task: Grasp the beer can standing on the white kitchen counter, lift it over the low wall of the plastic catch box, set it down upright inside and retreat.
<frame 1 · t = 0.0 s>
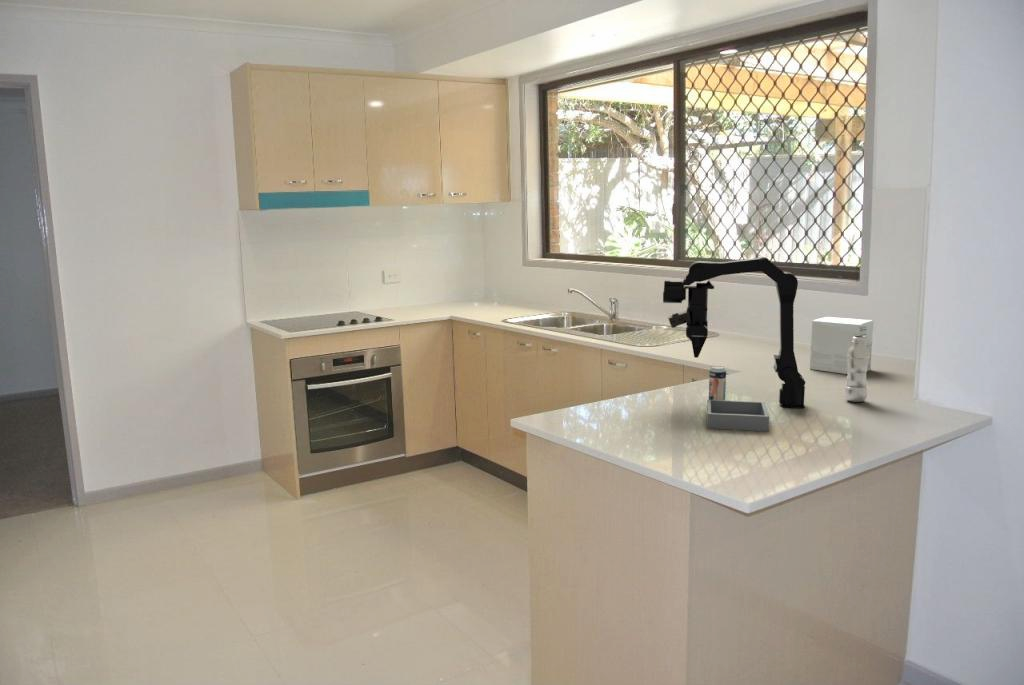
hand: (696, 354, 245), 15 cm above the counter, fingers open, 9 cm apart
supplement box: (839, 370, 290), on the counter
catch box: (736, 421, 225), on the counter
plastic bottle: (855, 402, 245), on the counter
beer can: (716, 407, 242), on the counter
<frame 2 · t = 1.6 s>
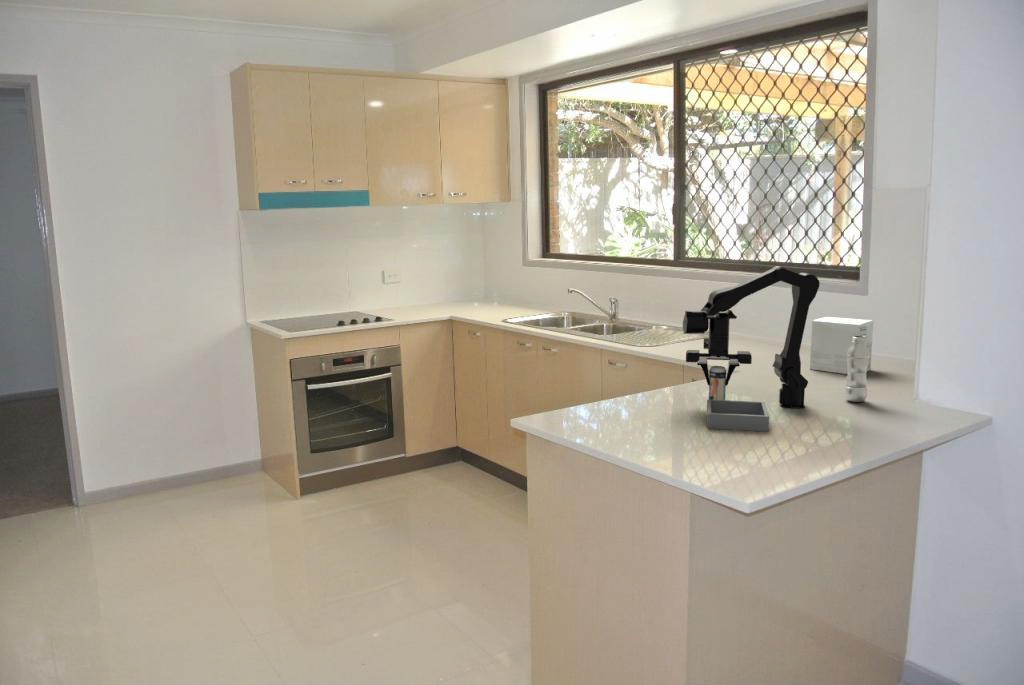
hand: (717, 385, 241), 7 cm above the counter, fingers closed on beer can, 5 cm apart
beer can: (716, 407, 242), on the counter, touching gripper
everything else where it was.
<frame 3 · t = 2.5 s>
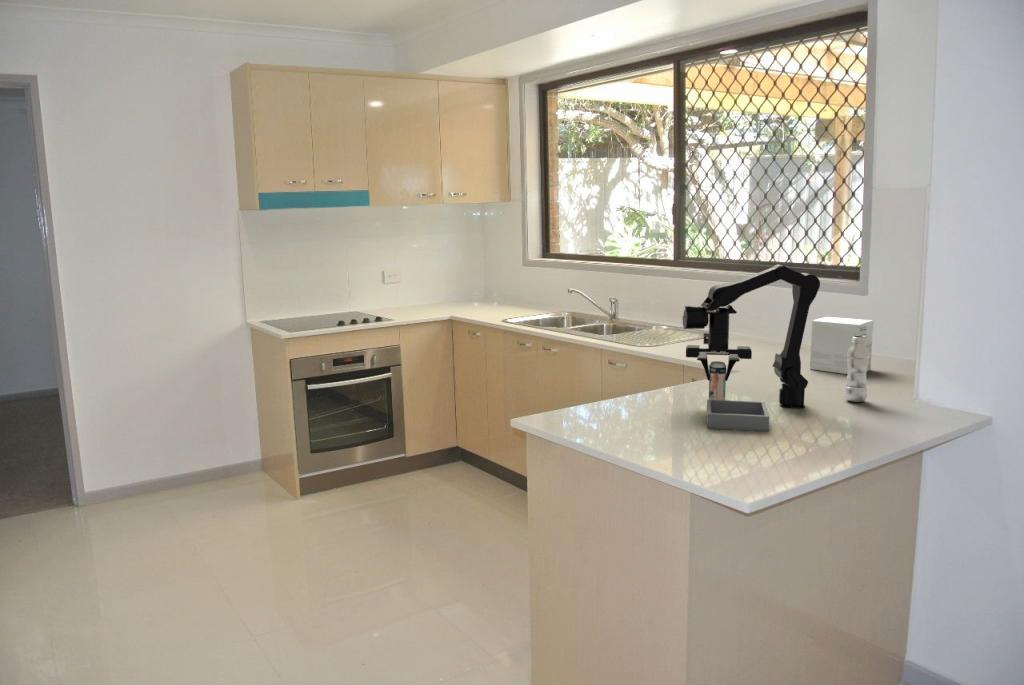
hand: (717, 380, 240), 8 cm above the counter, fingers closed on beer can, 5 cm apart
beer can: (716, 402, 242), point 1 cm above the counter, touching gripper
everything else where it was.
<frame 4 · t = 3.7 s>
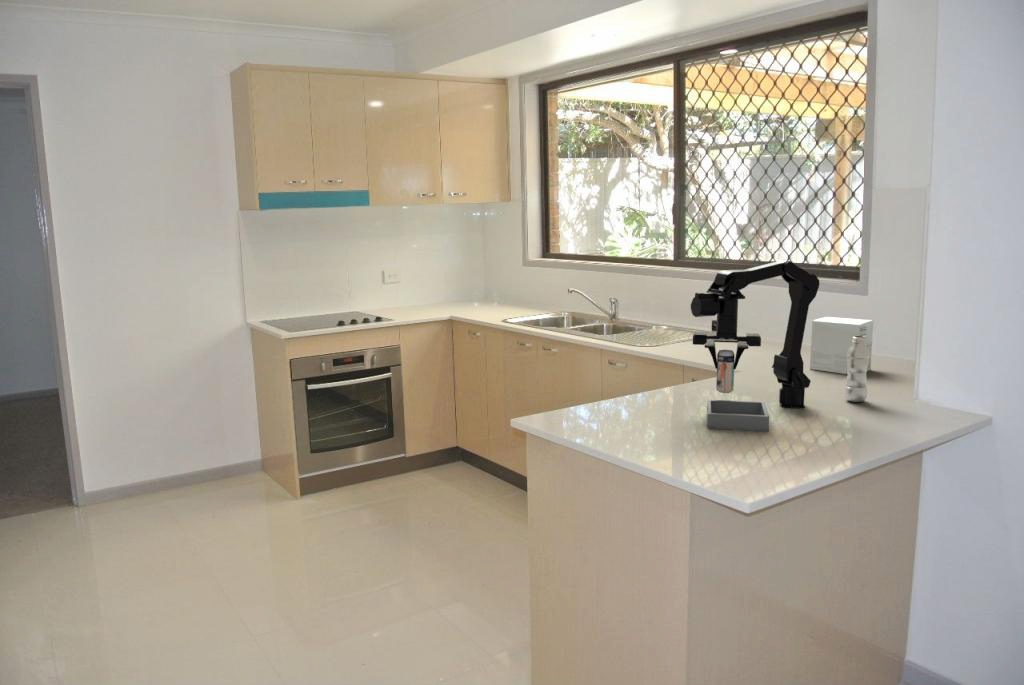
hand: (725, 368, 233), 13 cm above the counter, fingers closed on beer can, 5 cm apart
beer can: (724, 392, 234), point 6 cm above the counter, touching gripper
everything else where it was.
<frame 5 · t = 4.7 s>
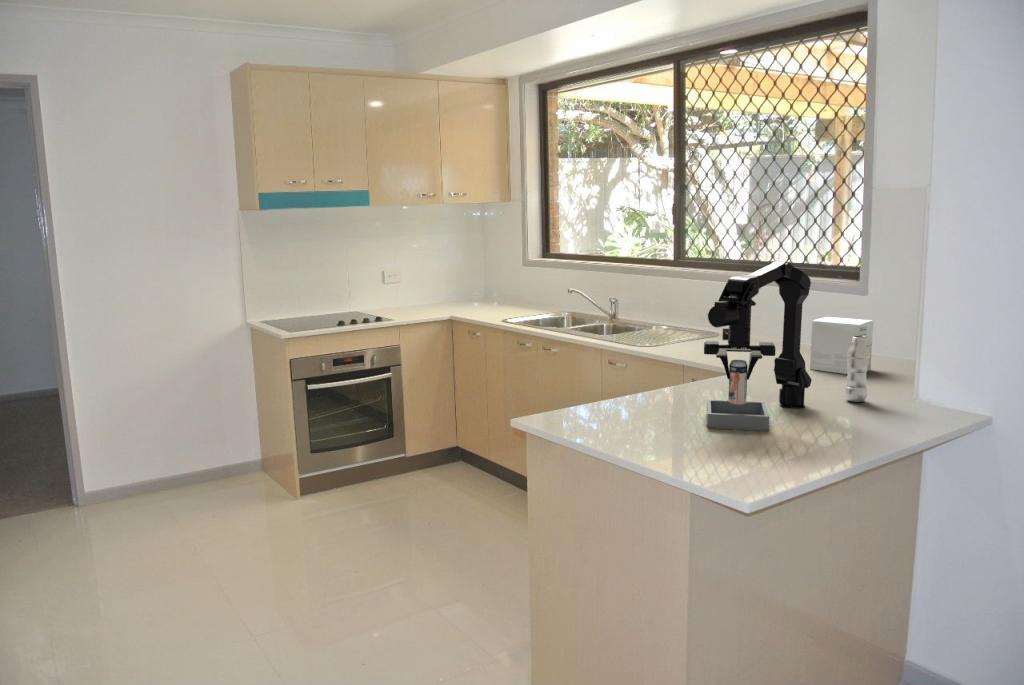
hand: (738, 379, 223), 12 cm above the counter, fingers closed on beer can, 5 cm apart
beer can: (737, 404, 225), point 5 cm above the counter, touching gripper
everything else where it was.
when the fingers open (8 cm above the counter, at t = 5.7 s): beer can stays where it is, resting on catch box.
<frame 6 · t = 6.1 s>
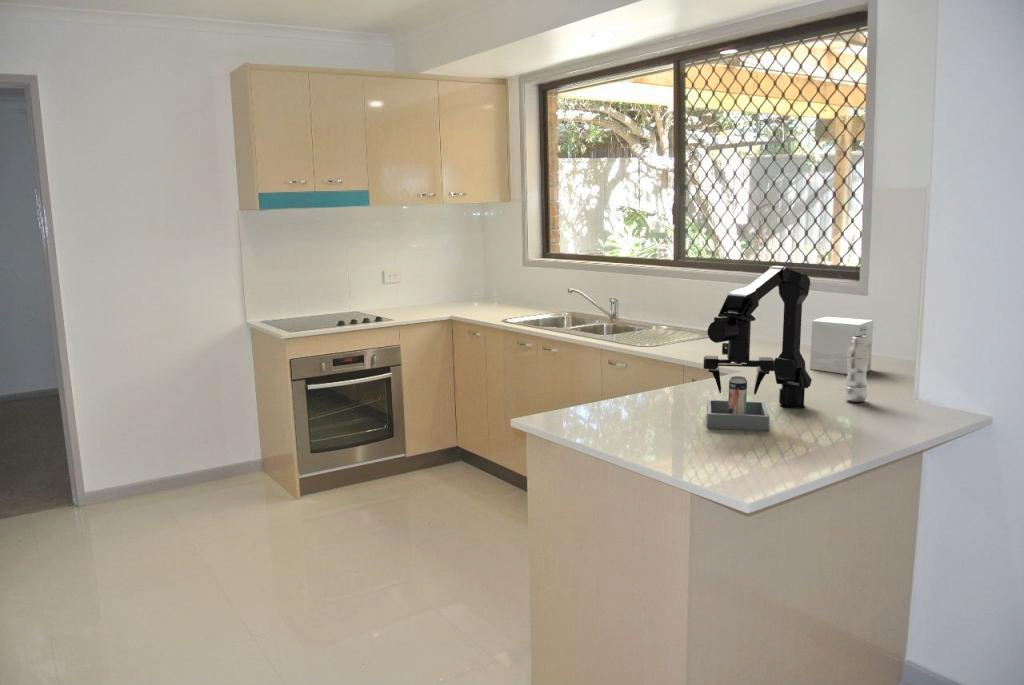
hand: (737, 393, 224), 8 cm above the counter, fingers open, 9 cm apart
beer can: (736, 420, 225), resting on catch box
everything else where it was.
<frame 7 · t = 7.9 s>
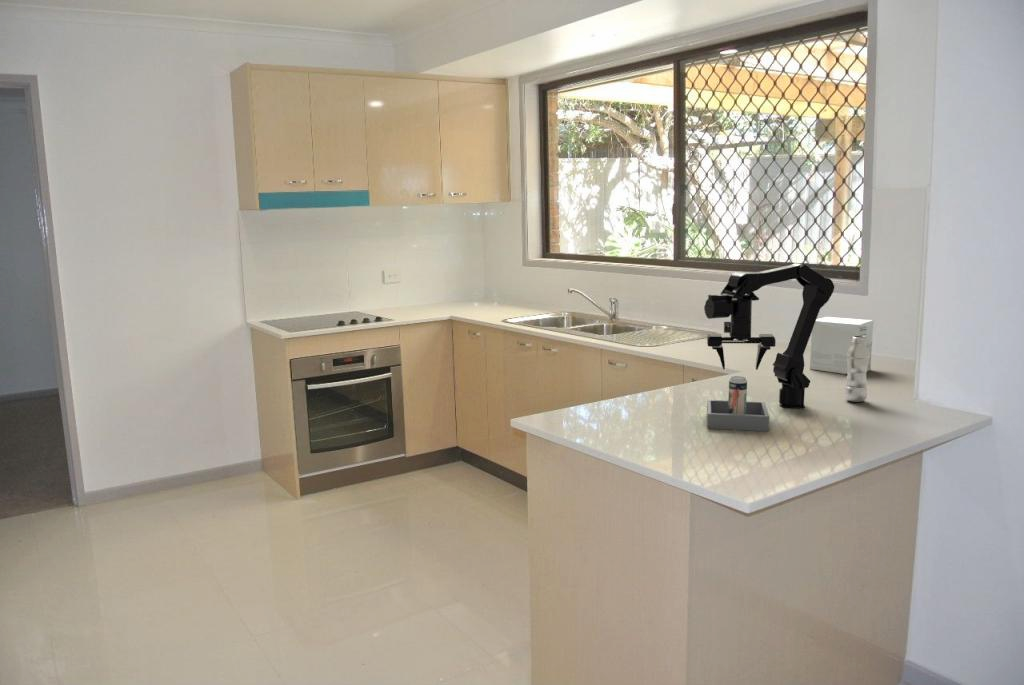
hand: (740, 369, 235), 12 cm above the counter, fingers open, 9 cm apart
nothing on the counter moved.
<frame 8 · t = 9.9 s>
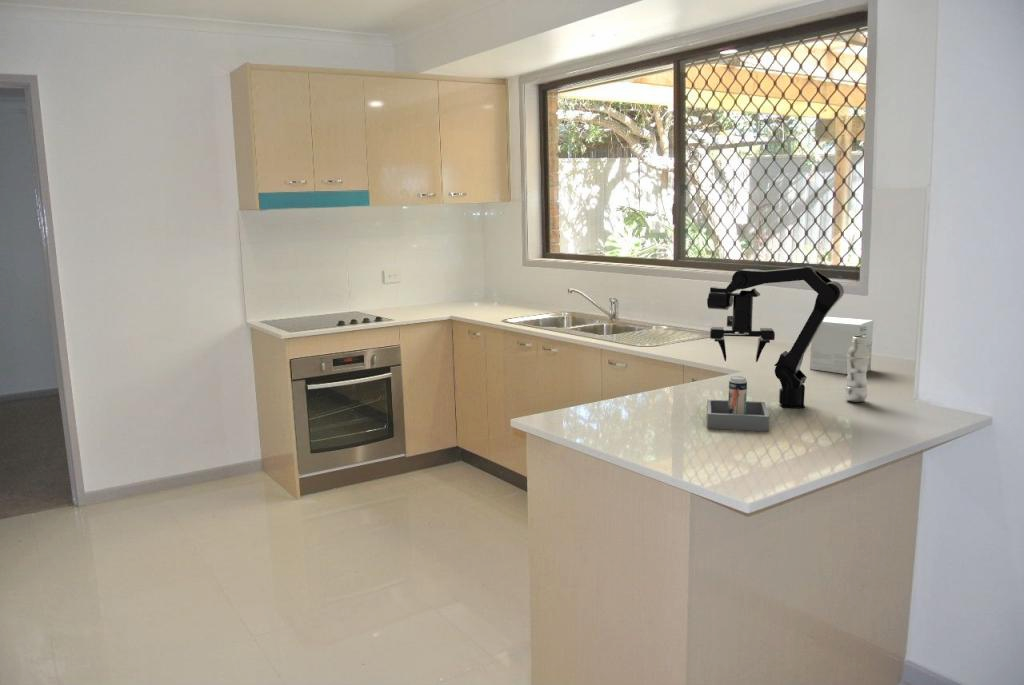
hand: (740, 361, 248), 12 cm above the counter, fingers open, 9 cm apart
nothing on the counter moved.
at the end: beer can inside the target area on the catch box (0.1 cm from its centre), point 0.3 cm above the catch box's base; beer can tilted 0°; the gripper is holding nothing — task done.
